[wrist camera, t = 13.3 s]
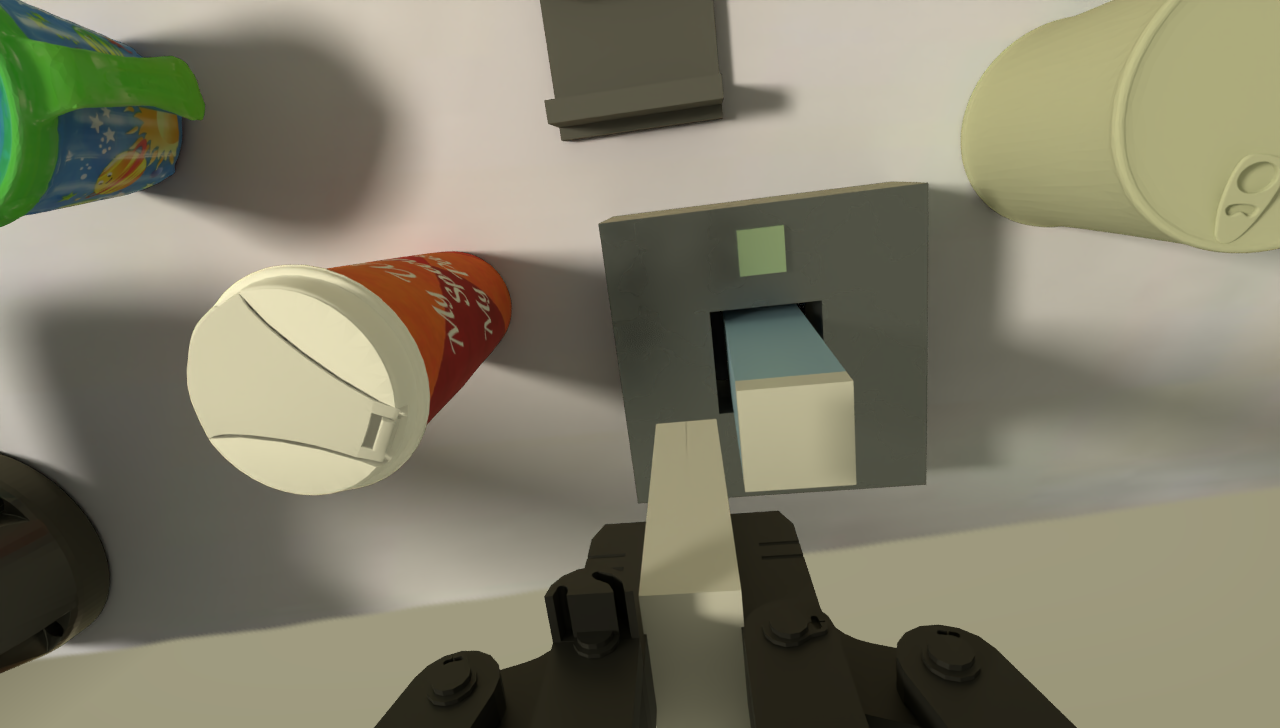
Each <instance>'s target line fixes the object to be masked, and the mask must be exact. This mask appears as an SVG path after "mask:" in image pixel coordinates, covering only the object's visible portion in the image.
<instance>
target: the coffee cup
mask: <svg viewBox="0 0 1280 728" xmlns="http://www.w3.org/2000/svg"><path fill="white" fill-rule="evenodd" d="M510 319H511V299H510V295H509V291H508V289H507V286H506V284H505V282H504V281H503V279H502V277H501V276H500V275H499V273H498V272H497V271H496V270H495V269H494V268H493V267H492V266H491V265H490V264H488V263H487V262H486V261H484V260H482V259H481V258H479V257H477V256H474V255H471V254H468V253H464V252H455V251H453V252H437V253H428V254H421V255H414V256H407V257H400V258H393V259H386V260H380V261H373V262H367V263H360V264H353V265H347V266H340V267H334V268H327V269H324V268H319V267H314V266H308V265H281V266H274V267H268V268H265V269H262V270H259V271H256V272H253V273H251V274H249V275H247V276H246V277H244V278H242V279H240V280H239V281H237V282H236V283H235V284H233V285H232V286H231V287H230V288H229V289H228V290H226V291H225V292H224V293H223V295H222V296H221V297H220V299H219V300H218V301H217V302H216V304H215V305H214V306H213V307H212V308H211V309H210V310H209V311H208V312H207V313H206V314H205V315H204V316H203V317H202V318H201V319H200V321H199V322H198V323H197V325H196V326H195V328H194V330H193V333H192V336H191V340H190V345H189V352H188V363H187V386H188V390H189V395H190V399H191V402H192V405H193V407H194V409H195V412H196V414H197V417H198V419H199V421H200V423H201V425H202V427H203V429H204V431H205V433H206V435H207V437H208V438H209V440H210V442H211V443H212V444H213V446H214V447H215V448H216V449H217V450H218V451H219V452H220V453H221V454H222V455H223V457H224V458H225V459H227V460H228V461H229V462H230V463H231V464H232V465H234V466H235V467H236V468H237V469H239V470H240V471H242V472H243V473H245V474H246V475H248V476H249V477H251V478H252V479H254V480H256V481H258V482H260V483H262V484H264V485H266V486H269V487H272V488H275V489H278V490H281V491H284V492H289V493H294V494H301V495H324V494H333V493H337V492H341V491H345V490H350V489H357V488H361V487H365V486H369V485H372V484H374V483H376V482H378V481H381V480H383V479H385V478H386V477H388V476H389V475H391V474H392V473H394V472H395V471H397V470H398V469H399V468H400V467H401V466H402V465H403V464H404V463H405V462H406V461H407V460H408V459H409V458H410V457H411V455H412V454H413V452H414V451H415V449H416V448H417V447H418V445H419V443H420V441H421V438H422V436H423V434H424V432H425V429H426V425H427V424H428V423H429V422H430V421H431V420H432V418H433V417H434V416H435V415H436V414H437V413H438V412H439V411H440V410H441V409H442V408H443V407H444V406H445V405H446V404H447V403H448V402H449V401H450V400H451V399H452V397H453V396H454V395H455V394H456V393H457V392H458V391H459V390H460V389H461V388H462V387H463V386H464V385H465V383H466V382H467V381H468V380H469V378H470V377H471V376H472V375H473V373H474V372H475V371H476V370H477V368H478V367H479V366H480V365H481V364H482V362H483V361H484V360H485V359H486V358H487V357H488V356H489V354H490V353H491V352H492V351H493V350H494V348H495V347H496V346H497V345H498V343H499V342H500V341H501V339H502V338H503V336H504V335H505V333H506V331H507V329H508V326H509V323H510Z"/></svg>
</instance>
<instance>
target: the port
mask: <svg viewBox="0 0 1280 728" xmlns="http://www.w3.org/2000/svg"><path fill="white" fill-rule="evenodd" d="M599 231H600V238H601V245H602V252H603V259H604V266H605V273H606V280H607V287H608V294H609V301H610V308H611V315H612V322H613V330H614V337H615V344H616V351H617V358H618V365H619V372H620V379H621V386H622V393H623V400H624V407H625V414H626V421H627V428H628V435H629V442H630V449H631V456H632V463H633V470H634V477H635V484H636V491H637V498H638V503H648V499H649V489H650V479H651V469H652V459H653V449H654V440H655V430H656V424H661V423H673V422H685V421H697V420H709V419H716V420H717V427H718V434H719V440H720V447H721V454H722V461H723V468H724V475H725V482H726V489H727V496H728V497H744V496H759V495H774V494H789V493H804V492H820V491H835V490H850V489H865V488H880V487H896V486H911V485H926V439H927V295H928V183H921V182H885V183H877V184H869V185H861V186H853V187H845V188H837V189H829V190H821V191H813V192H805V193H797V194H789V195H781V196H773V197H765V198H757V199H749V200H741V201H733V202H725V203H717V204H709V205H701V206H693V207H685V208H677V209H669V210H661V211H654V212H646V213H638V214H630V215H622V216H614V217H611V218H609V219H607V220H605V221H603V222H601V223H599ZM802 302H805V317H806V318H807V319H808V321H809V322H810V323H811V325H812V326H813V328H814V329H815V330H816V332H817V333H818V334H819V336H820V337H821V338H822V340H823V341H824V342H825V344H826V345H827V346H828V348H829V349H830V350H831V352H832V353H833V354H834V356H835V357H836V358H837V360H838V361H839V362H840V364H841V365H842V366H843V368H844V369H845V370H846V372H847V373H848V374H849V376H850V377H851V379H852V380H853V386H854V420H855V455H856V485H846V486H831V487H816V488H801V489H786V490H770V491H755V492H745V487H744V480H743V473H742V466H741V459H740V452H739V445H738V438H737V431H736V424H735V417H734V410H733V403H732V396H731V389H730V382H729V379H728V380H717V381H716V371H715V361H714V350H713V340H712V329H711V319H710V312H715V311H724V310H734V309H744V308H753V307H763V306H773V305H782V304H792V303H802Z"/></svg>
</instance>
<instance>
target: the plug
mask: <svg viewBox="0 0 1280 728" xmlns="http://www.w3.org/2000/svg"><path fill="white" fill-rule="evenodd" d="M722 313H723V325H724V336H725V347H726V358H727V368H728V375H729V382H730V389H731V396H732V403H733V410H734V417H735V424H736V431H737V438H738V445H739V452H740V459H741V466H742V473H743V480H744V487H745V492H755V491H770V490H786V489H801V488H816V487H831V486H846V485H856V455H855V420H854V386H853V380H852V379H851V377H850V376H849V374H848V373H847V372H846V370H845V369H844V368H843V366H842V365H841V364H840V362H839V361H838V360H837V358H836V357H835V356H834V354H833V353H832V352H831V350H830V349H829V348H828V346H827V345H826V344H825V342H824V341H823V340H822V338H821V337H820V336H819V334H818V333H817V332H816V330H815V329H814V328H813V326H812V325H811V323H810V322H809V321H808V319H807V318H806V317H805V315H804V314H803V313H802V311H801V310H800V309H799V307H798V306H797V305H796V303H792V304H782V305H773V306H763V307H753V308H744V309H734V310H724V311H722Z"/></svg>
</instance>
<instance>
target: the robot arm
mask: <svg viewBox="0 0 1280 728" xmlns="http://www.w3.org/2000/svg"><path fill="white" fill-rule="evenodd" d="M108 592H109V568H108V563H107V558H106V555H105V552H104V549H103V546H102V544H101V541H100V539H99V537H98V535H97V533H96V531H95V530H94V528H93V526H92V525H91V523H90V521H89V520H88V518H87V517H86V516H85V514H84V513H83V512H82V510H81V509H80V508H79V507H78V506H77V504H76V503H75V502H74V501H73V500H72V499H71V498H70V497H69V496H68V495H67V494H66V493H65V492H64V491H63V490H62V489H61V488H59V487H58V486H57V485H56V484H55V483H53V482H52V481H51V480H49V479H48V478H47V477H45V476H44V475H42V474H41V473H39V472H38V471H36V470H34V469H33V468H31V467H29V466H27V465H25V464H23V463H21V462H19V461H17V460H15V459H12V458H10V457H7V456H4V455H1V454H0V673H3V672H5V671H8V670H10V669H12V668H15V667H17V666H20V665H22V664H25V663H27V662H30V661H32V660H34V659H37V658H39V657H42V656H44V655H46V654H48V653H50V652H52V651H54V650H55V649H57V648H59V647H60V646H62V645H63V644H65V643H66V642H67V641H69V640H70V639H71V638H73V637H74V636H75V635H77V634H78V633H80V632H81V631H82V630H84V629H85V628H86V627H88V626H89V625H90V624H91V623H92V622H93V621H94V620H95V619H96V618H97V617H98V616H99V614H100V613H101V611H102V609H103V607H104V605H105V603H106V600H107V596H108ZM545 603H546V608H547V613H548V618H549V623H550V629H551V634H552V639H553V645H552V649H551V651H549V652H547V653H545V654H544V655H542V656H540V657H539V658H536V659H533V660H531V661H528V662H526V663H522V664H519V665H516V666H513V667H509V668H506V669H502V670H500V669H499V665H498V663H497V662H496V661H495V660H494V659H493V658H492V656H491V655H488V654H485V653H483V652H480V651H461V652H457V653H454V654H451V655H447V656H444V657H442V658H441V659H439V660H437V661H435V662H434V663H432V664H430V665H428V666H427V667H426V668H425V669H424V670H423V671H422V672H421V673H420V674H418V675H417V676H416V677H415V678H414V679H413V681H412V682H411V683H410V684H409V686H408V687H407V688H406V689H405V691H404V692H403V693H402V694H401V695H400V697H399V698H398V699H397V700H396V701H395V703H394V704H393V705H392V706H391V708H390V709H389V710H388V711H387V712H386V714H385V715H384V716H383V717H382V719H381V720H380V721H379V722H378V724H377V725H376V726H375V727H374V728H656V726H657V728H1077V727H1076V726H1074V724H1073V723H1071V722H1070V721H1069V720H1068V719H1067V718H1066V717H1065V716H1064V715H1063V714H1062V713H1061V712H1060V711H1059V710H1058V709H1057V708H1056V707H1055V706H1054V705H1053V704H1052V703H1051V702H1050V701H1049V700H1048V699H1047V698H1046V697H1045V696H1044V695H1043V694H1042V693H1041V692H1040V691H1039V690H1037V688H1036V687H1035V686H1034V685H1033V684H1031V683H1030V682H1029V681H1028V680H1027V679H1026V678H1025V677H1024V676H1023V675H1022V674H1021V673H1020V672H1019V671H1018V670H1017V669H1016V668H1015V667H1014V666H1013V665H1012V664H1011V663H1010V662H1009V661H1008V660H1007V659H1006V658H1005V657H1004V656H1003V655H1002V654H1001V653H1000V652H999V651H998V650H997V649H995V648H994V647H993V646H991V645H990V644H989V643H987V642H986V641H984V640H983V639H982V638H980V637H979V636H977V635H974V634H972V633H969V632H967V631H964V630H962V629H960V628H955V627H949V626H943V625H929V626H919V627H917V628H915V629H912V630H910V631H908V632H906V633H905V634H904V635H903V637H902V638H901V639H900V640H899V642H898V643H897V648H893V647H888V646H883V645H878V644H872V643H869V642H865V641H861V640H857V639H855V638H853V637H851V636H849V635H846V634H844V633H843V632H841V631H840V630H838V629H837V628H835V626H834V625H833V623H832V621H831V620H830V618H829V617H828V616H827V615H826V614H825V613H823V612H822V610H821V608H820V606H819V602H818V599H817V596H816V593H815V590H814V587H813V584H812V581H811V577H810V574H809V572H808V568H807V565H806V562H805V559H804V557H803V553H802V550H801V546H800V544H799V540H798V537H797V534H796V531H795V528H794V525H793V523H791V522H790V521H789V520H788V519H787V518H786V517H785V516H784V515H782V514H781V513H780V512H779V511H768V512H754V513H739V514H730V509H729V502H728V496H727V489H726V482H725V475H724V468H723V461H722V454H721V447H720V440H719V434H718V427H717V420H716V419H709V420H697V421H685V422H673V423H661V424H656V430H655V440H654V449H653V459H652V469H651V479H650V489H649V499H648V508H647V518H646V522H635V523H620V524H606V525H604V526H603V528H602V529H601V530H600V531H599V532H598V533H597V534H596V535H595V536H594V538H593V539H592V541H591V545H590V549H589V553H588V559H587V561H586V565H585V568H583V569H578V570H576V571H573V572H571V573H569V574H566V575H564V576H562V577H561V578H560V579H559V580H557V581H556V582H555V583H554V584H552V585H551V586H550V588H549V590H548V591H547V593H546V595H545Z"/></svg>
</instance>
